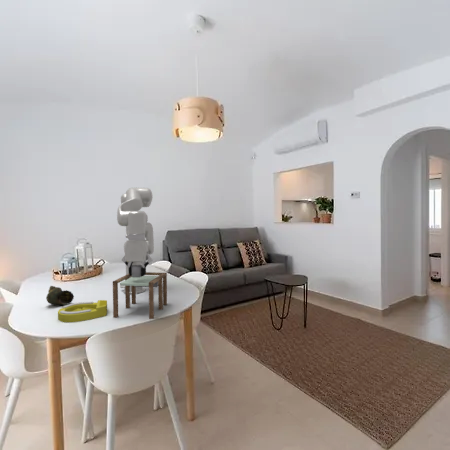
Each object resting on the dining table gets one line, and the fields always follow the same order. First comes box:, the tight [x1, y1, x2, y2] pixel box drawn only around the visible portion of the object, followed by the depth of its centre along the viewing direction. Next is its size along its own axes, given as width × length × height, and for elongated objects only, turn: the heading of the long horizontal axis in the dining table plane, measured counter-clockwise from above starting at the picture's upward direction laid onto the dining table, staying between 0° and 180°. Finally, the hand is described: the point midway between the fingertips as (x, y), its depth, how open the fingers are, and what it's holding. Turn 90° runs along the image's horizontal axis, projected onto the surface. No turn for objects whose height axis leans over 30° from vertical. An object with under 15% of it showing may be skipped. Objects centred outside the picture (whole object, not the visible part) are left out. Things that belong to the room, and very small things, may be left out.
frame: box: [112, 271, 168, 320], centre depth 140 cm, size 19×21×17 cm
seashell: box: [46, 285, 75, 306], centre depth 147 cm, size 11×11×10 cm
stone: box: [131, 265, 142, 277], centre depth 134 cm, size 5×5×5 cm
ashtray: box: [57, 299, 108, 323], centre depth 134 cm, size 16×21×5 cm
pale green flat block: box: [119, 275, 159, 288], centre depth 139 cm, size 15×16×5 cm
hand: (137, 275), depth 135 cm, fingers closed on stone, 5 cm apart
